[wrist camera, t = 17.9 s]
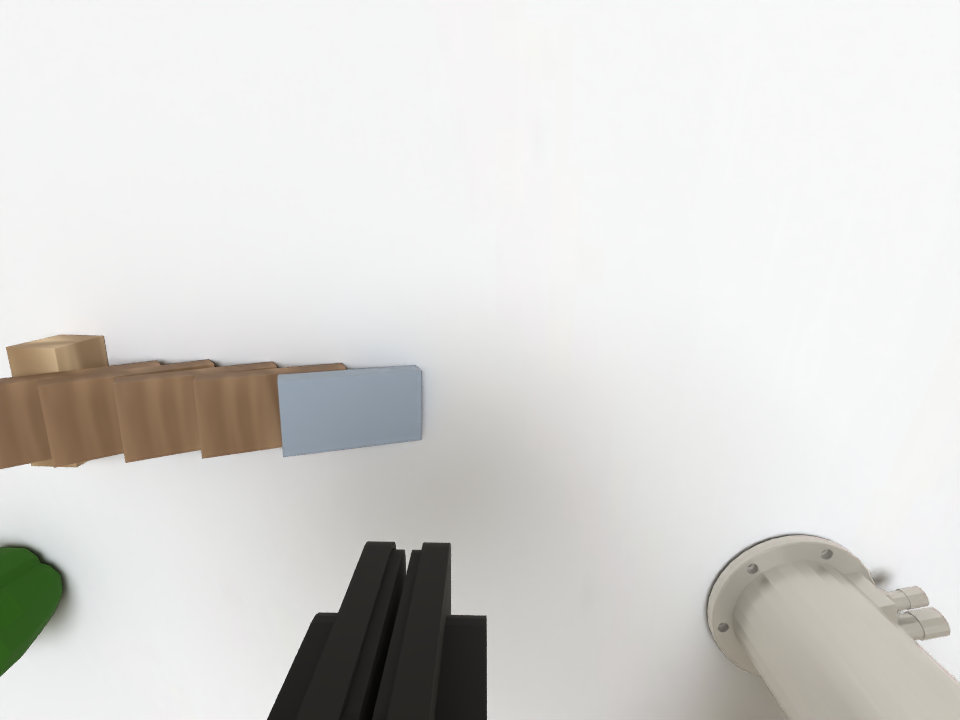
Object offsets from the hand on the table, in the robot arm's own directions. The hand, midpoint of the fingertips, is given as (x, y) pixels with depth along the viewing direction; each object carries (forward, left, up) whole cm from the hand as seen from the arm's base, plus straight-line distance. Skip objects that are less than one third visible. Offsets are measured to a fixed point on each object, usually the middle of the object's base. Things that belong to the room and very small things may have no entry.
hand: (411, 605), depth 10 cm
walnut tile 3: (+18, -1, -24) cm, 30 cm away
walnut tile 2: (+14, +1, -24) cm, 28 cm away
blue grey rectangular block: (+4, +3, -24) cm, 25 cm away
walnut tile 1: (+9, +2, -24) cm, 26 cm away
